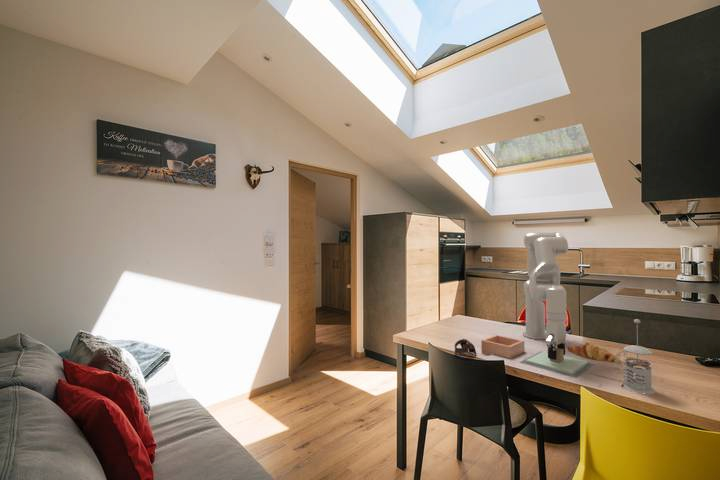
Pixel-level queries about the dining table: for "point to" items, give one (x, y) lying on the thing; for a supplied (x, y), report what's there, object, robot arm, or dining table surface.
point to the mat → (559, 371)
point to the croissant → (593, 352)
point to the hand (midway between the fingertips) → (556, 356)
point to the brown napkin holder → (464, 347)
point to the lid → (558, 362)
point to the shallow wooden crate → (502, 346)
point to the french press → (637, 369)
